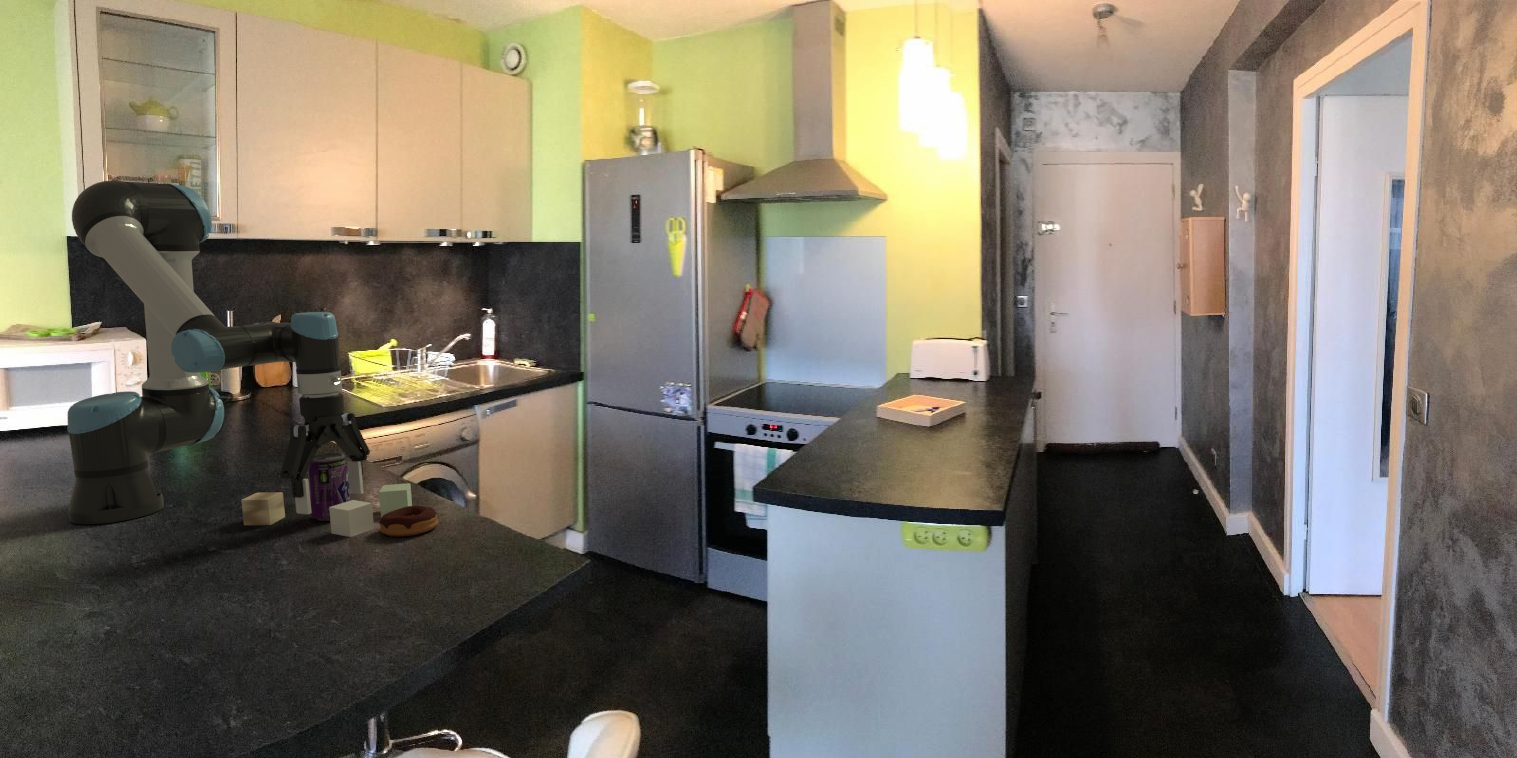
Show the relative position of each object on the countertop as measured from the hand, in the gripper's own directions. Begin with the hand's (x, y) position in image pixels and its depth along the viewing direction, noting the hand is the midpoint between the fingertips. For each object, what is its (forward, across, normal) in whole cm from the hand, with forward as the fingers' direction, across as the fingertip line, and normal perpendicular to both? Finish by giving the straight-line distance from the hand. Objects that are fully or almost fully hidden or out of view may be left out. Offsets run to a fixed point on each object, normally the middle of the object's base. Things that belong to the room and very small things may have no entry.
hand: (331, 503), depth 165 cm
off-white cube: (+3, -6, -10) cm, 12 cm away
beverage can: (+3, 0, 0) cm, 3 cm away
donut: (+3, -3, -20) cm, 20 cm away
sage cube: (+3, +6, -10) cm, 12 cm away
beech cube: (+3, -5, +11) cm, 13 cm away
